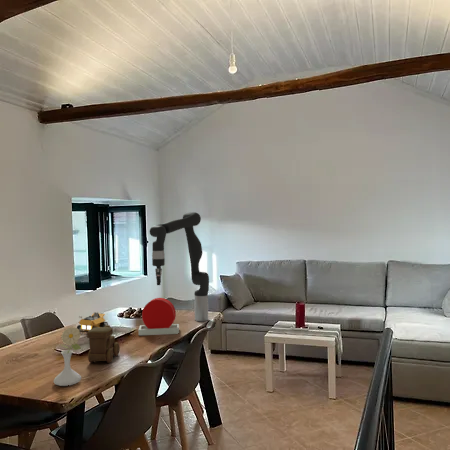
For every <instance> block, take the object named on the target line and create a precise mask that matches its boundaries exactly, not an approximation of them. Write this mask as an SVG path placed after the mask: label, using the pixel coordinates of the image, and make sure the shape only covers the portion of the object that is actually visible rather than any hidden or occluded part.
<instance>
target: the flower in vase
mask: <svg viewBox="0 0 450 450" xmlns="http://www.w3.org/2000/svg"><path fill="white" fill-rule="evenodd" d="M81 336H82V334H81V332H80V330H79V329H78V328H77V327H74V326H70V327H67V328H66V329H64V331H63V332H62V334H61V337H60V338H61V341H62V343H63V344H65V345H67V346H65V345H63V344H62V343H60V345H61V346H62V347H63V348H66V349H67V350H66V349H65V350H62V351H61V352H60V353H61V355H62V356H63V361H64V368H63V369H62V371H61V372H59V374H57V375H56V376H55V378H54V379H53V383H54V385H56V386H60V387H68V385H69V386H73V385H75V384H77V383H80V381H81V380H82V376H81V374H79V373H78V372H77V371H76V370H74V369H72V368H71V357H72V355H73V352H74V350H75V351H77V350H81V349H82V348H81V345H79V344H78V342H79V339H80V338H81ZM68 346H70V347H68ZM71 348H72V349H73V350H71Z"/></svg>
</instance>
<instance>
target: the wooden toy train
mask: <svg viewBox="0 0 450 450" xmlns="http://www.w3.org/2000/svg"><path fill="white" fill-rule="evenodd" d="M113 329H114V328H113V327H111V326H110V324H108V325H105V326H104V327H96V328H92V329H91V330H89V331H87V332H86V338H87V339H88V340H89V351H88V353H87V359H88V362H89V363H90V364H92V363H94V362H106V363H107V364H111V363H112V362H113V360H114V359H113V358H114V357H118V355H119V353H120V348H121V347H120V343H119V342H117V341H116V338H115V335H113V333H114V332H113V331H114V330H113Z"/></svg>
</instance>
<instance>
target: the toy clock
mask: <svg viewBox="0 0 450 450" xmlns="http://www.w3.org/2000/svg"><path fill="white" fill-rule="evenodd" d="M141 319H142V322H143V325H145V326H146V327H147V328H148V329H156V328H169V327H170V326H171V325H172V324H174V322H175V320H176V308H175V306H174V304H173V303H172V301H170V300H168V299H167V298H163V297H156V298H153V299H151V300H150V301H149V302H147V303H146V304H145V305H144V307H143V309H142V312H141Z"/></svg>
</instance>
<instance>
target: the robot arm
mask: <svg viewBox="0 0 450 450" xmlns="http://www.w3.org/2000/svg"><path fill="white" fill-rule="evenodd" d="M201 220H202V219H201V215H200V213H197V212H194V211H193V212H191V211H190V212H189V211H188V212H187V211H186V212H185V213H184V214H183V215H182V218H178V219H173V220H169V221H167V222H164V223H160V224H159V223H158V224H156V225H152V226H151V227H150V229H149V235H150V236H151V237H153V238H156V240H155V241H152V244H151V245H152V253H151V257H152V259H151V260H152V261H151V262H152V264H151V265H152V267H156V268H155V270H154V271H155V278H156V286H161V283H162V271H163V269H162V267H163V266H165V264H166V263H165V262H166V261H165V260H166V259H165V242H166V237H167V234H171V233H174V232H176V231H179V230H181V229H184V232H185V236H186V243H187V249H188V250H187V251H188V254H189V260H190V261H189V263H190V273H191V281H192V284H193V285H195V286H199V289H196V290H194V321H195V320H196V322H207V321H208V320H209V296H208V295H209V292H210V291H209V289H210V276H209V273H208V272H206V271H205V272H204V271H200V265H199V264H200V261H201V259H202V256H203V247H202V242H201V240H200V239H199V238H198V236H197V234H196V233H195V230H194V227H196V226H199V224H200V223H201Z"/></svg>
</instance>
